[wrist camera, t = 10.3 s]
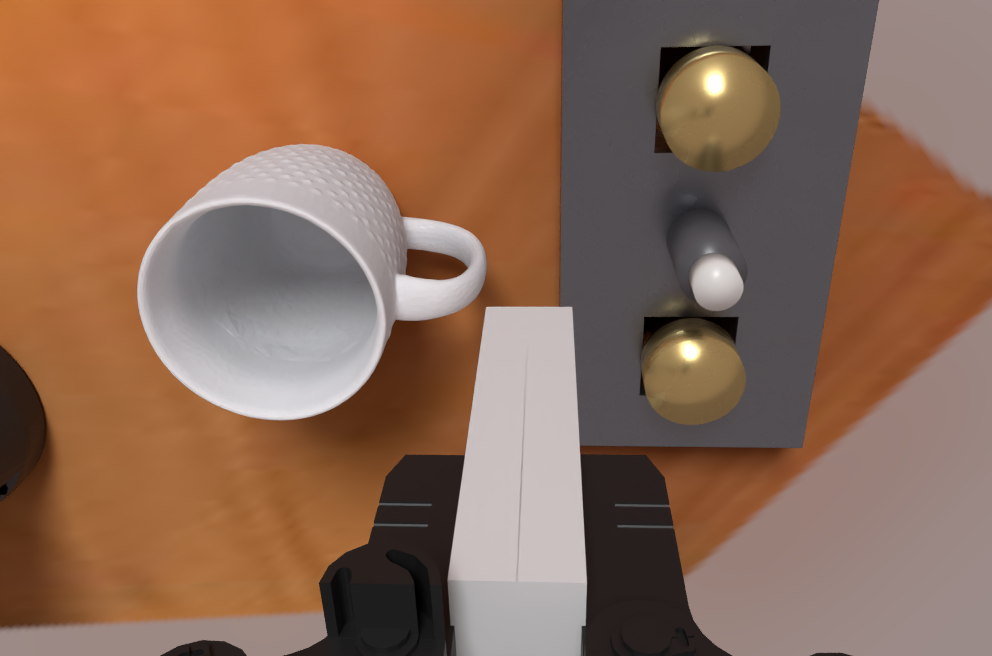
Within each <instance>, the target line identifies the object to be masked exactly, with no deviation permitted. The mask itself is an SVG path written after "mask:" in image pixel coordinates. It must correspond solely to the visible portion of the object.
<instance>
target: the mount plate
mask: <svg viewBox="0 0 992 656" xmlns="http://www.w3.org/2000/svg"><path fill="white" fill-rule="evenodd" d="M878 3H879V0H562V67H561V173H560V280H559V307H572V312H573V330H574V349H575V368H576V387H577V406H578V424H579V443H580V446H663V447H759V448H802V447H803V441H804V435H805V429H806V423H807V417H808V412H809V406H810V400H811V394H812V388H813V382H814V377H815V371H816V365H817V359H818V353H819V347H820V342H821V336H822V330H823V324H824V318H825V312H826V307H827V301H828V295H829V289H830V283H831V277H832V272H833V266H834V260H835V254H836V248H837V242H838V237H839V231H840V225H841V219H842V213H843V207H844V202H845V196H846V190H847V184H848V178H849V172H850V167H851V161H852V155H853V149H854V143H855V137H856V132H857V126H858V120H859V114H860V108H861V102H862V97H863V91H864V85H865V79H866V73H867V67H868V61H869V55H870V50H871V44H872V38H873V32H874V26H875V21H876V15H877V9H878ZM716 45H719V46H751V52H750V57H752V58H753V59H754V60H755V61H756V62H757V63H758V64H759V65H760V66H761V67H762V68H763V69H764V70H765V71H766V72H767V73H768V74H769V75H770V76H771V78H772V79H773V81H774V83H775V85H776V87H777V90H778V92H779V97H780V104H781V111H780V119H779V123H778V126H777V129H776V132H775V134H774V136H773V138H772V139H771V141H770V143H769V144H768V145H767V147H766V148H765V149H764V150H763V151H762V152H761V153H760V154H759V155H758V156H757V157H756V158H754V159H753V160H752V161H750V162H748V163H747V164H745V165H743V166H741V167H739V168H736V169H733V170H729V171H724V172H707V171H701V170H698V169H695V168H692V167H690V166H688V165H687V164H685V163H684V162H682V161H681V160H680V159H679V158H677V157H676V156H675V154H674V153H673V152H672V151H671V149H670V148H669V146H668V144H667V142H666V140H665V137H664V135H663V133H662V131H656V116H657V113H656V100H657V94H658V84H659V68H660V51H661V47H704V46H716ZM696 209H707V210H711V211H714V212H716V213H718V214H719V215H720V216H722V217H723V218H724V220H725V221H726V222H727V224H728V226H729V228H730V230H731V232H732V234H733V236H734V238H735V240H736V242H737V244H738V246H739V248H740V250H741V252H742V254H743V256H744V258H745V261H746V263H747V269H748V274H747V279H746V282H745V284H744V286H743V293H742V296H741V298H740V299H739V300H738V302H737V303H736V304H735V305H733V306H732V307H730V308H728V309H725V310H722V311H711V310H707V309H705V308H703V307H702V306H701V305H699V303H696V302H694V301H692V300H690V299H689V298H688V297H687V296H686V295H685V294H684V293H683V292H682V290H681V288H680V286H679V283H678V279H677V276H676V273H675V270H674V267H673V263H672V260H671V257H670V254H669V250H668V247H667V234H668V231H669V229H670V227H671V225H672V223H673V222H674V221H675V220H676V219H677V218H678V217H679V216H681V215H682V214H684V213H686V212H688V211H691V210H696ZM644 317H722V319H721V327H722V328H723V329H724V330H726V331H727V332H728V334H729V335H730V336H731V338H732V339H733V341H734V343H735V346H736V348H737V351H738V353H739V356H740V359H741V361H742V364H743V366H744V370H745V374H746V385H745V390H744V392H743V395H742V397H741V399H740V400H739V402H738V403H737V405H736V406H735V407H734V408H733V409H732V410H731V411H730V412H728V413H727V414H726V415H724V416H723V417H721V418H719V419H717V420H714V421H712V422H708V423H705V424H699V425H684V424H679V423H675V422H672V421H670V420H667V419H666V418H664V417H662V416H661V415H660V414H658V413H657V412H656V411H655V410H654V409H653V408H652V406H651V405H650V403H649V401H648V399H647V396H646V393H645V387H644V382H643V376H642V371H641V354H642V345H643V329H644Z"/></svg>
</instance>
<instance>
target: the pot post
mask: <svg viewBox="0 0 992 656" xmlns="http://www.w3.org/2000/svg"><path fill="white" fill-rule="evenodd" d="M667 247H668V250H669V254H670V257H671V260H672V263H673V267H674V270H675V273H676V276H677V279H678V283H679V286H680V288H681V290H682V292H683V293H684V294H685V295H686V296H687V297H688V298H689V299H690V300H692V301H694V302H696V303H699V305H701V306H702V307H703V308H705V309H707V310H711V311H722V310H725V309H728V308H730V307H732V306H733V305H735V304H736V303H737V302H738V300H739V299H740V298H741V296H742V293H743V286H744V284H745V282H746V279H747V274H748V269H747V263H746V261H745V258H744V256H743V254H742V252H741V250H740V248H739V246H738V244H737V242H736V240H735V238H734V236H733V234H732V232H731V230H730V228H729V226H728V224H727V222H726V221H725V220H724V218H723V217H722V216H720V215H719V214H718V213H716V212H714V211H711V210H707V209H696V210H691V211H688V212H686V213H684V214H682V215H681V216H679V217H678V218H677V219H676V220H675V221H674V222H673V223H672V225H671V227H670V229H669V231H668V234H667Z"/></svg>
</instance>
